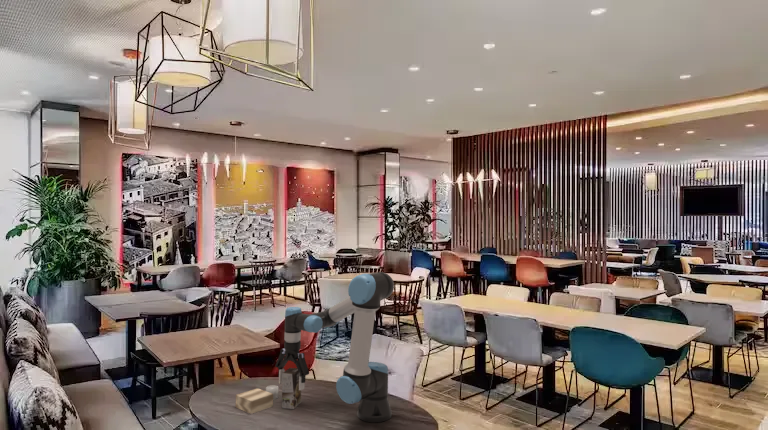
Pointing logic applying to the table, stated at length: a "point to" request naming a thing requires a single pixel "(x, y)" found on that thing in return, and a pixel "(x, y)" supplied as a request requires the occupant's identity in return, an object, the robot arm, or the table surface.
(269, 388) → the white rounded dome
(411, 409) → the table surface
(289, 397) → the coffee box
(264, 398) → the maple block
